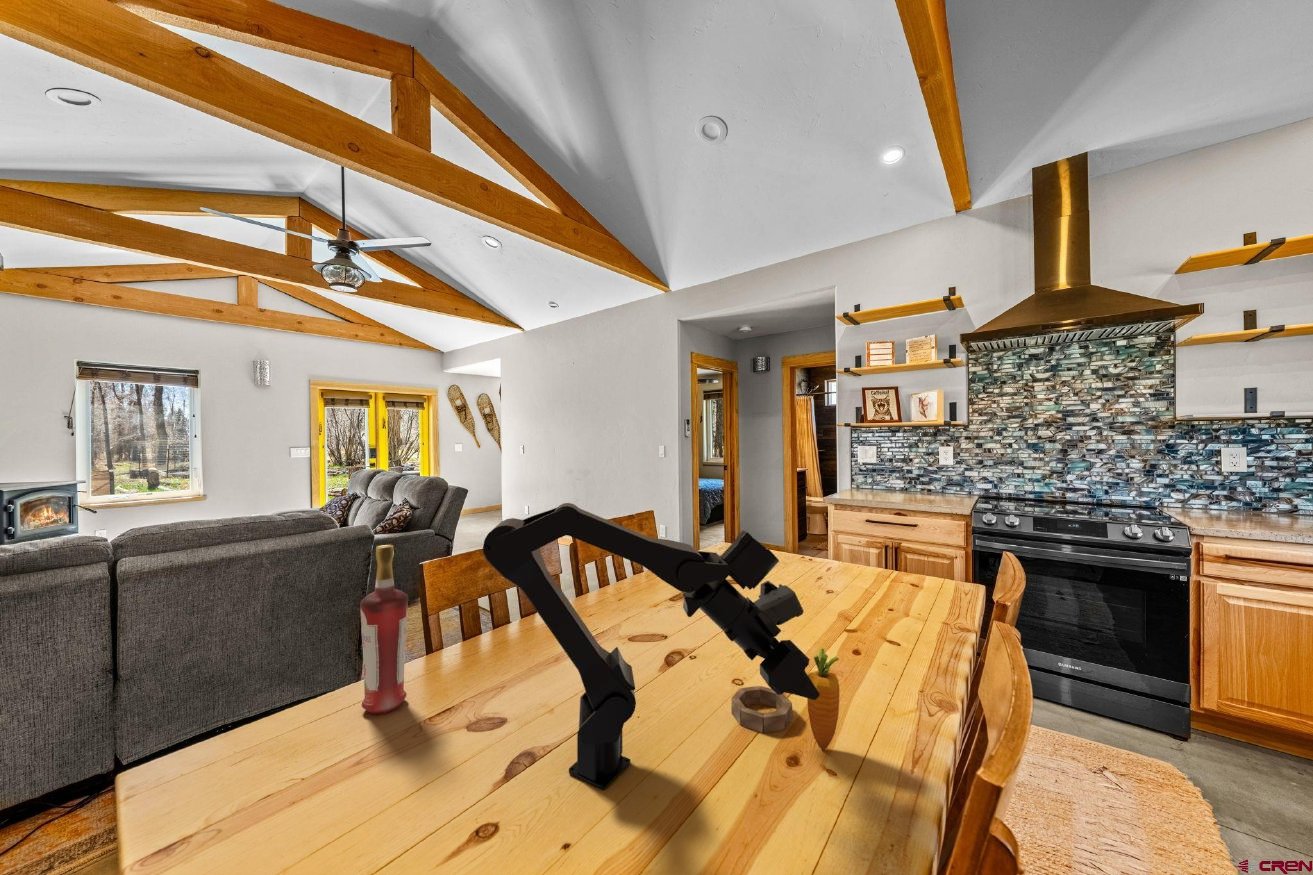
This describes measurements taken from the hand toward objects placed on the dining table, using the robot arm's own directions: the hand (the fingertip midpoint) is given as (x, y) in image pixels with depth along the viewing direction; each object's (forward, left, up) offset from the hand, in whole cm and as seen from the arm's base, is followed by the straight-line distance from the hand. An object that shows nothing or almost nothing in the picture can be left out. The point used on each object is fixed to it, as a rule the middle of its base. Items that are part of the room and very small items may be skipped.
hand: (803, 680), depth 73 cm
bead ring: (+6, +9, -11) cm, 15 cm away
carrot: (+2, -2, -11) cm, 11 cm away
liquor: (-26, +66, -11) cm, 71 cm away
